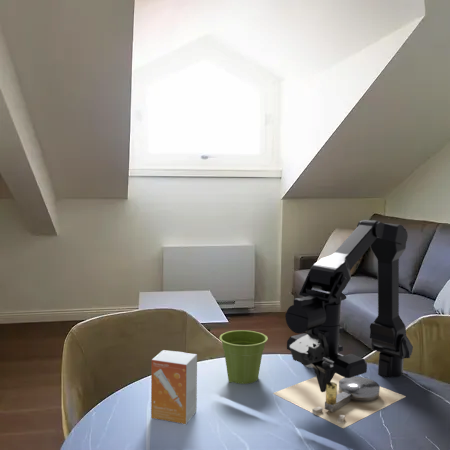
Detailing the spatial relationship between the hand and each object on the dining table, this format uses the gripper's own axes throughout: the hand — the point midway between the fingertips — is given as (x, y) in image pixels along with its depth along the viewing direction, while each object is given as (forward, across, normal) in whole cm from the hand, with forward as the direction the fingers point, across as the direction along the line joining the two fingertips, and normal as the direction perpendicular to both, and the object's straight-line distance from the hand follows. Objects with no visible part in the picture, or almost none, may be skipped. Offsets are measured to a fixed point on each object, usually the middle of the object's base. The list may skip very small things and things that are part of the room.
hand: (323, 391), depth 109 cm
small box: (+5, -16, -28) cm, 33 cm away
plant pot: (+5, -22, -6) cm, 23 cm away
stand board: (+5, -2, +7) cm, 9 cm away
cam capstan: (+3, +1, +7) cm, 8 cm away
